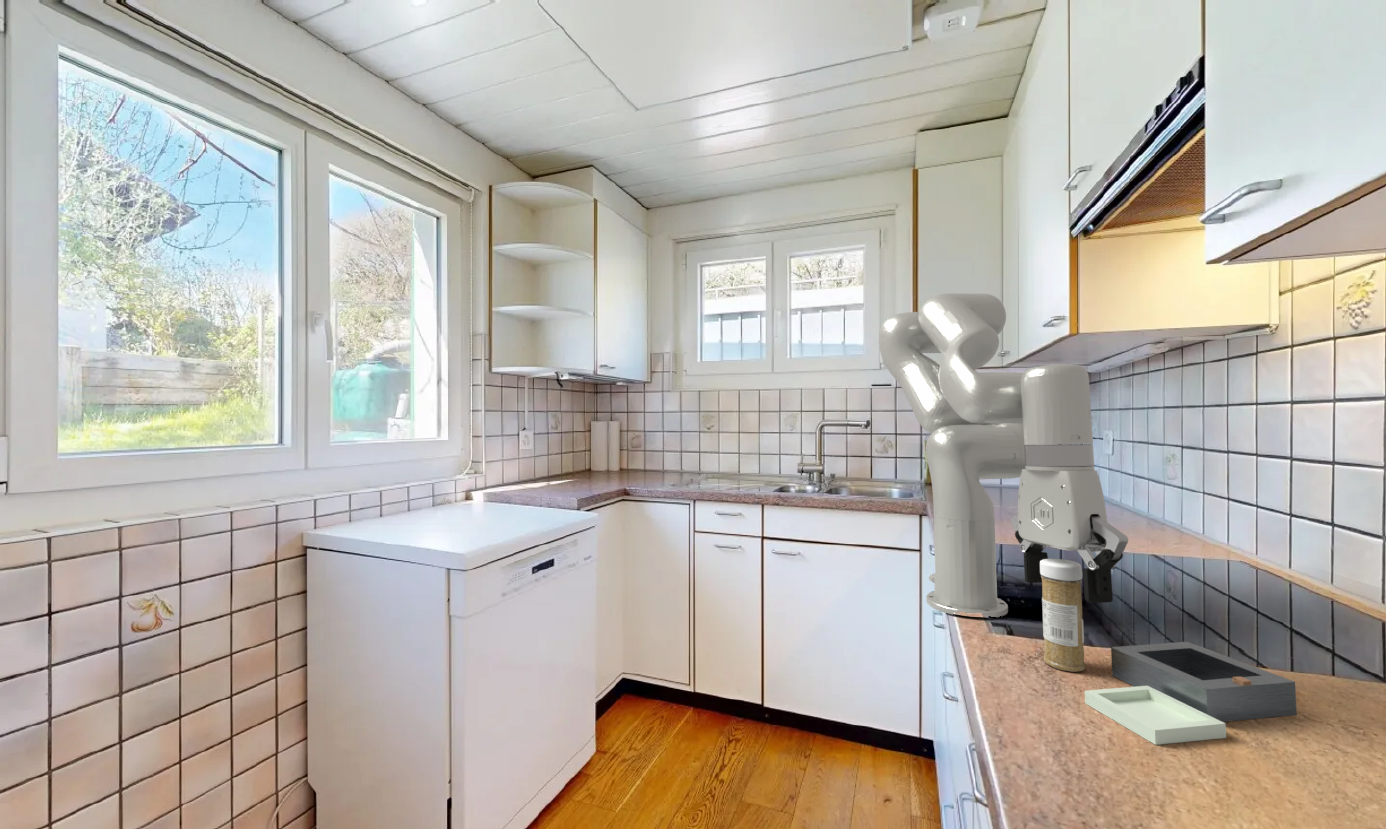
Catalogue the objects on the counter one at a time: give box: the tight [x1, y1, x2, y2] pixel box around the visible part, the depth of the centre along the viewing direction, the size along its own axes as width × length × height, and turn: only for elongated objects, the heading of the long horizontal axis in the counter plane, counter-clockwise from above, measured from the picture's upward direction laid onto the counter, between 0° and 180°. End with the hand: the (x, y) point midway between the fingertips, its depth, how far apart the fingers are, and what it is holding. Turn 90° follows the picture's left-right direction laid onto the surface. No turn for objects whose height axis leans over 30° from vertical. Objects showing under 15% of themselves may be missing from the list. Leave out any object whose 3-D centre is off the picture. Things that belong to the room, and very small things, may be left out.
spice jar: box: [1040, 558, 1086, 673], centre depth 70 cm, size 5×5×13 cm
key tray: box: [1084, 686, 1227, 745], centre depth 56 cm, size 8×8×1 cm
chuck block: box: [1110, 641, 1298, 723], centre depth 62 cm, size 11×11×4 cm
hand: (1065, 591), depth 69 cm, fingers open, 9 cm apart
